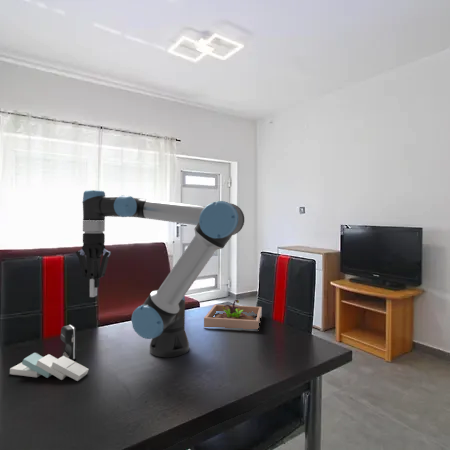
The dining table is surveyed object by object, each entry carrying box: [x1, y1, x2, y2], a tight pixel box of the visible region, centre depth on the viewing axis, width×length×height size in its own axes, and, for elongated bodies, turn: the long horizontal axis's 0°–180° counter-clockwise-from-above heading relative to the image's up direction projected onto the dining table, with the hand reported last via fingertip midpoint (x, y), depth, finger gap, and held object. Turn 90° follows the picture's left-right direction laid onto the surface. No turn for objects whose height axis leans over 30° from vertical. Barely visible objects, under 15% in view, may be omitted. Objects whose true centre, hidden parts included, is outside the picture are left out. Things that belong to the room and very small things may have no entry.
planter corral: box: [203, 304, 263, 329], centre depth 164 cm, size 25×25×5 cm
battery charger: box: [60, 324, 77, 360], centre depth 120 cm, size 7×4×11 cm, turn 42°
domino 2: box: [36, 353, 68, 381], centre depth 107 cm, size 2×5×10 cm
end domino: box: [9, 361, 42, 378], centre depth 108 cm, size 2×5×10 cm
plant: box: [212, 299, 256, 320], centre depth 165 cm, size 20×20×11 cm
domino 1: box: [22, 352, 53, 379], centre depth 107 cm, size 2×5×10 cm
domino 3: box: [51, 355, 89, 382], centre depth 106 cm, size 2×5×10 cm
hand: (93, 296), depth 121 cm, fingers closed
